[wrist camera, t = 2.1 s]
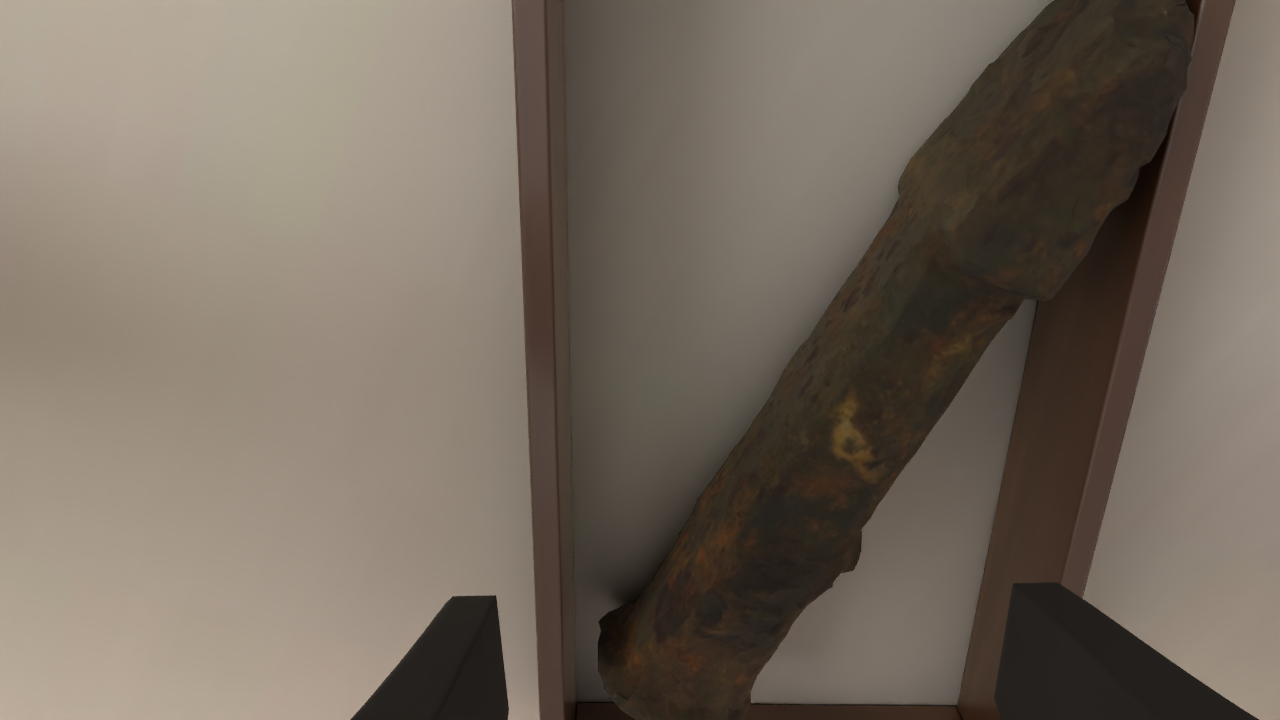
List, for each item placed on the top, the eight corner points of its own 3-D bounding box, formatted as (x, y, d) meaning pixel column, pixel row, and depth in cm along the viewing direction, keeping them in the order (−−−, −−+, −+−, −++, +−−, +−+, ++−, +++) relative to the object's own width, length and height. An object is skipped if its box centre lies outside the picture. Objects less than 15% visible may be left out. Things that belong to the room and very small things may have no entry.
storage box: (1167, -195, 16) (1301, -250, 13) (973, 721, 25) (1024, 828, 21) (528, -206, 16) (501, -265, 13) (556, 718, 24) (543, 824, 21)
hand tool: (718, 662, 24) (738, 804, 19) (594, 606, 23) (586, 741, 19) (1190, 39, 18) (1371, 44, 13) (1042, -66, 17) (1184, -96, 13)
